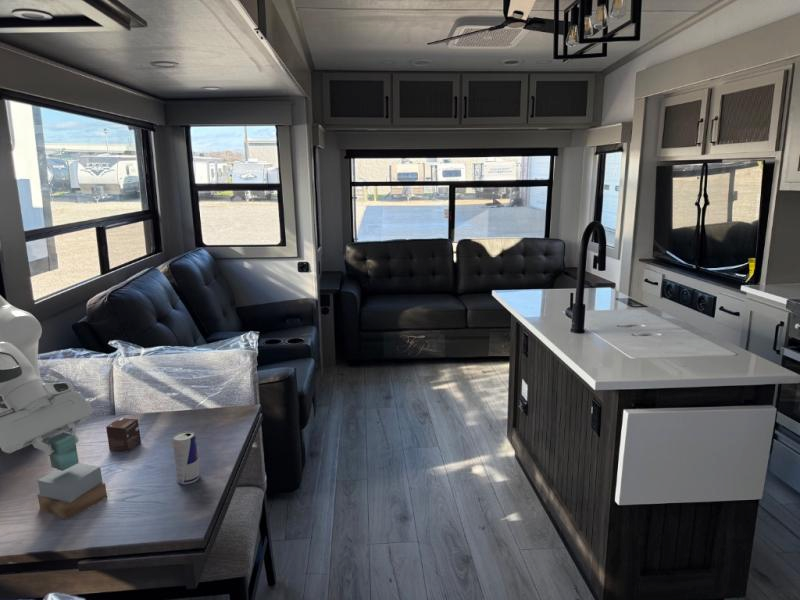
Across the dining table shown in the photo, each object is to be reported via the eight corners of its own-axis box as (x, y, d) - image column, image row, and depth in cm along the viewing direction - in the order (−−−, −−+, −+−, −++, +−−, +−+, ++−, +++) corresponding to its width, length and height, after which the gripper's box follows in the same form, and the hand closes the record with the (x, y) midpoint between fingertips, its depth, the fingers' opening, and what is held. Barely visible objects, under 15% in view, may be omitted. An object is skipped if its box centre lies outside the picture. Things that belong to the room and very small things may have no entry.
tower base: (40, 509, 131) (37, 494, 131) (81, 488, 140) (78, 473, 139) (67, 521, 127) (64, 505, 126) (107, 498, 136) (105, 483, 135)
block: (51, 467, 131) (46, 439, 129) (68, 459, 134) (63, 432, 133) (62, 471, 129) (57, 443, 127) (78, 462, 133) (74, 435, 131)
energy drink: (204, 477, 143) (199, 433, 141) (187, 487, 139) (182, 442, 136) (190, 471, 146) (185, 429, 143) (172, 481, 142) (167, 437, 139)
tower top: (40, 495, 130) (37, 480, 129) (74, 475, 138) (71, 461, 137) (69, 502, 127) (67, 486, 126) (102, 481, 135) (100, 466, 134)
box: (127, 452, 157) (124, 428, 155) (108, 451, 158) (105, 426, 156) (141, 442, 162) (138, 418, 161) (123, 440, 164) (119, 417, 162)
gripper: (-14, 411, 122) (21, 462, 120) (76, 379, 140) (108, 423, 138) (-21, 426, 125) (12, 476, 123) (67, 393, 143) (98, 436, 141)
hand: (63, 448), depth 130 cm, fingers closed on block, 4 cm apart
